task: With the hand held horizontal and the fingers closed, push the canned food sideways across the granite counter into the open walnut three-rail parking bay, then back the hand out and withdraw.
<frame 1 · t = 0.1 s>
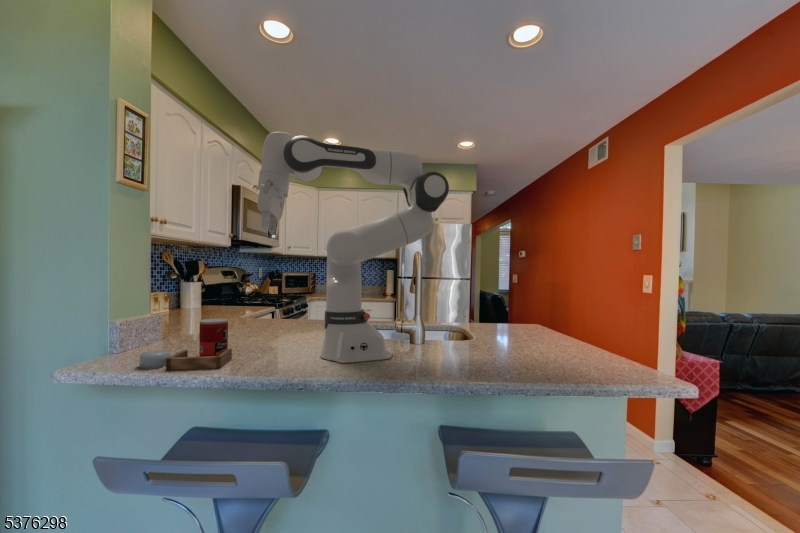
hand: (268, 230, 105), 39 cm above the worktop, tool pointing down, fingers open, 8 cm apart
bay: (201, 363, 98), on the worktop
canned food: (213, 356, 108), on the worktop
grey rounded cylinder: (155, 365, 96), on the worktop
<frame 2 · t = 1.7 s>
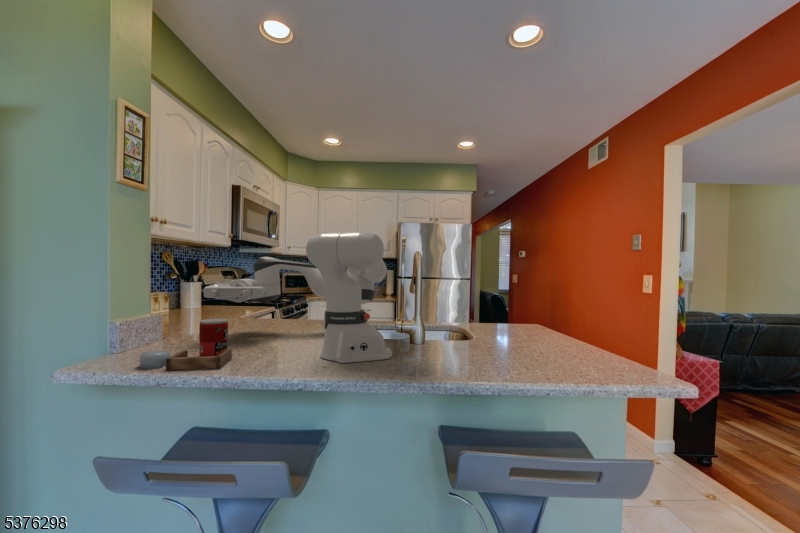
hand: (228, 293, 121), 18 cm above the worktop, tool horizontal, fingers open, 8 cm apart
nothing on the worktop moved.
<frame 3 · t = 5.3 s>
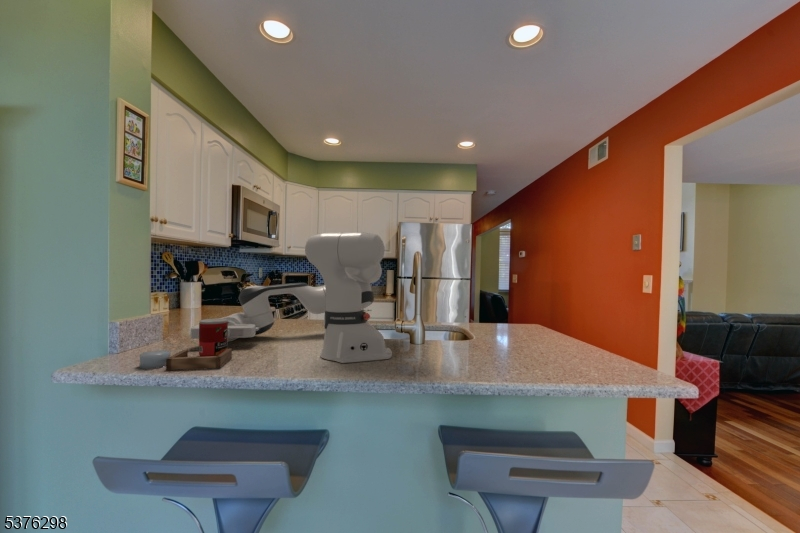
hand: (217, 335, 111), 5 cm above the worktop, tool horizontal, fingers closed, pressing on canned food
canned food: (213, 356, 107), on the worktop, touching gripper
everything else where it was.
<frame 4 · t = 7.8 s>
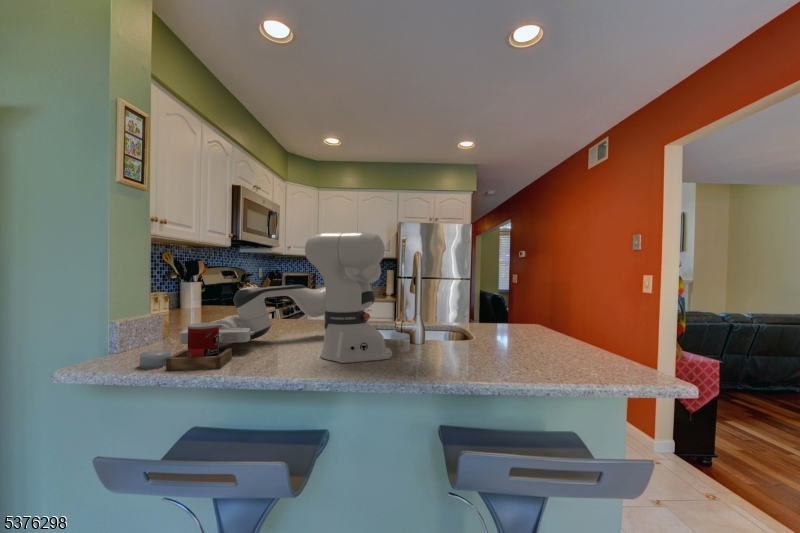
hand: (208, 340, 103), 5 cm above the worktop, tool horizontal, fingers closed
canned food: (203, 363, 99), on the worktop
everything else where it was.
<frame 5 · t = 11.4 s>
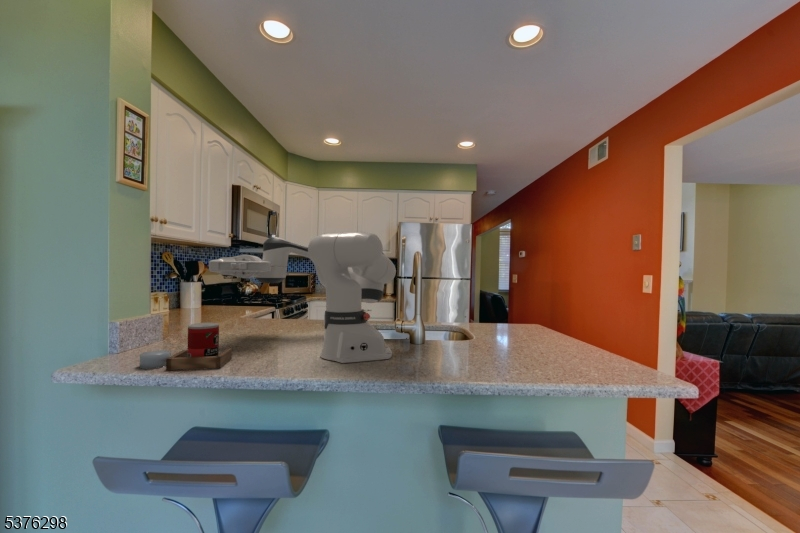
hand: (235, 266, 116), 28 cm above the worktop, tool horizontal, fingers closed
nothing on the worktop moved.
at the end: canned food inside the target area (1.7 cm from its centre), on the worktop; canned food tilted 0°; canned food touching worktop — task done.
